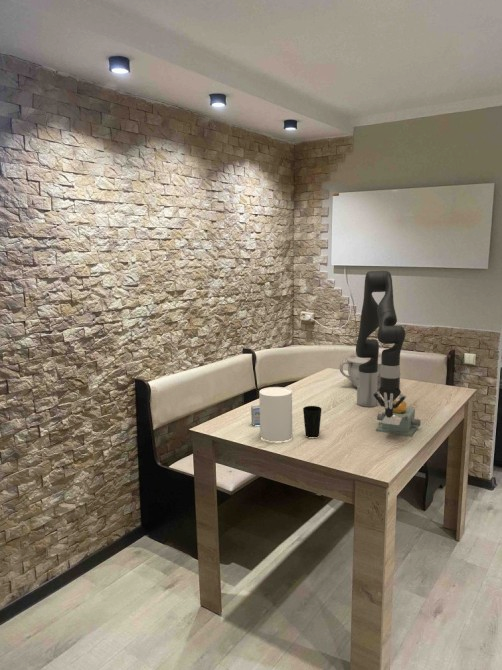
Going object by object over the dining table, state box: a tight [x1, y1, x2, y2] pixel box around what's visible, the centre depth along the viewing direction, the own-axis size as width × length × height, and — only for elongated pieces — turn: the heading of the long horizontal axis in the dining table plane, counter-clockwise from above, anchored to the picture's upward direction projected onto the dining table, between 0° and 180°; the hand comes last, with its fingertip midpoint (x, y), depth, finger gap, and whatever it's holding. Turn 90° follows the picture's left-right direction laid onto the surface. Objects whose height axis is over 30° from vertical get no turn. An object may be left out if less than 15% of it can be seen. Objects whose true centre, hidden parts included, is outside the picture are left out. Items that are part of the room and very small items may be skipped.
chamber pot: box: [338, 353, 382, 391], centre depth 280 cm, size 28×28×21 cm
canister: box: [258, 386, 293, 441], centre depth 207 cm, size 14×14×20 cm
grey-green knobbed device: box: [375, 407, 422, 437], centre depth 217 cm, size 18×18×8 cm
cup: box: [302, 405, 322, 438], centre depth 209 cm, size 8×8×12 cm
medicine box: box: [250, 404, 260, 425], centre depth 224 cm, size 8×4×9 cm, turn 105°
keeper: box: [381, 415, 403, 425], centre depth 207 cm, size 7×1×8 cm
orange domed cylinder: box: [393, 400, 407, 414], centre depth 217 cm, size 6×6×10 cm
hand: (389, 416), depth 201 cm, fingers closed
